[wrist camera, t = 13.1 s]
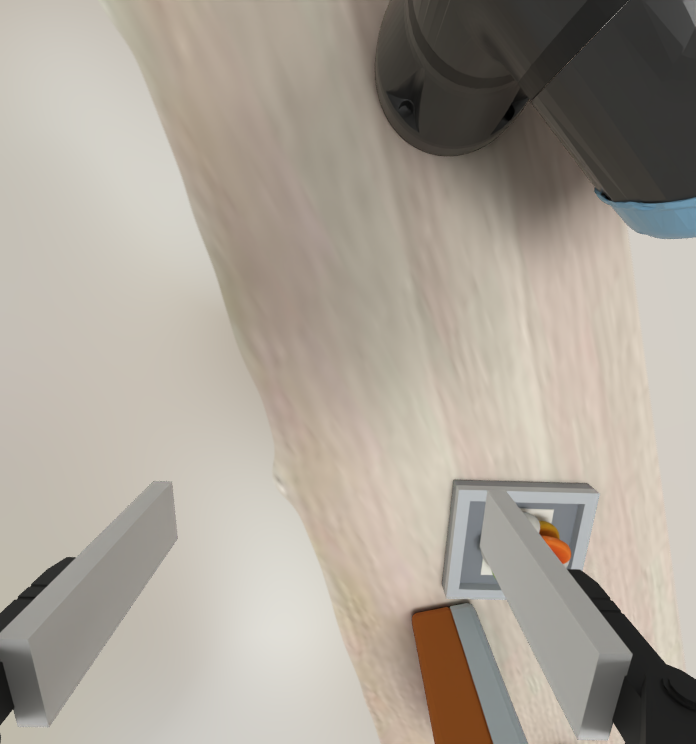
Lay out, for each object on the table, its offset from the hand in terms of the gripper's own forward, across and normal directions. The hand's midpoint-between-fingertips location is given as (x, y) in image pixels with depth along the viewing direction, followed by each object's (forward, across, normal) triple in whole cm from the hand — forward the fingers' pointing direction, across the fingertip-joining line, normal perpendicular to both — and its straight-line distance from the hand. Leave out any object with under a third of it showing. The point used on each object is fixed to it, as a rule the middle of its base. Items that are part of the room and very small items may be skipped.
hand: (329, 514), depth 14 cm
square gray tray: (+27, +23, -22) cm, 42 cm away
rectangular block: (+27, +17, -42) cm, 53 cm away
